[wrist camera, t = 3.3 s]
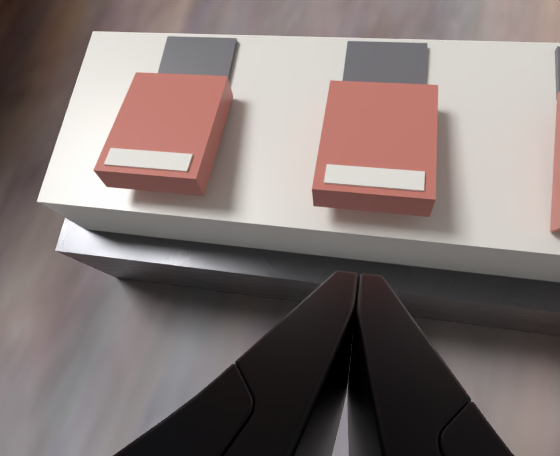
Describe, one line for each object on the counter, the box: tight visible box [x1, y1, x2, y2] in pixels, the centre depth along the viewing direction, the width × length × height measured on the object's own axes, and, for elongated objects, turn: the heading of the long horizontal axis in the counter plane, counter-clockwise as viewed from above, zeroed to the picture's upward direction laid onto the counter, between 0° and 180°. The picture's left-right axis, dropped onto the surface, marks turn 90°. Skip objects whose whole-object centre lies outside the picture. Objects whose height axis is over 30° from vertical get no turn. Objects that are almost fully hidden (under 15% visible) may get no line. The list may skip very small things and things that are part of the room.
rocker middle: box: [312, 80, 438, 217], centre depth 13 cm, size 3×4×1 cm
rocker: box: [93, 72, 233, 196], centre depth 14 cm, size 3×4×1 cm
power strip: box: [37, 31, 560, 282], centre depth 16 cm, size 22×7×3 cm, turn 81°
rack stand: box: [55, 218, 560, 336], centre depth 20 cm, size 24×9×5 cm, turn 81°
